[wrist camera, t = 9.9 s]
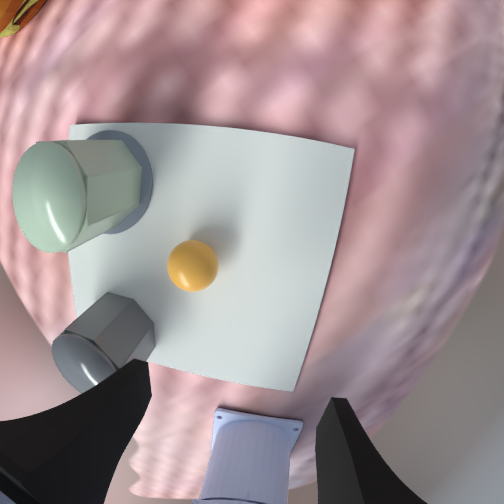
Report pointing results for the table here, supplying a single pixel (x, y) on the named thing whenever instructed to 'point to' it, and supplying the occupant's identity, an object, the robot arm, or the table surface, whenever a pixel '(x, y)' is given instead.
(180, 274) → the marble
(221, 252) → the mat
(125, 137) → the coaster
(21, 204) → the green acorn nut
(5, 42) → the table surface
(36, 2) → the cheeseburger
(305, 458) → the table surface
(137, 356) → the grey acorn nut
